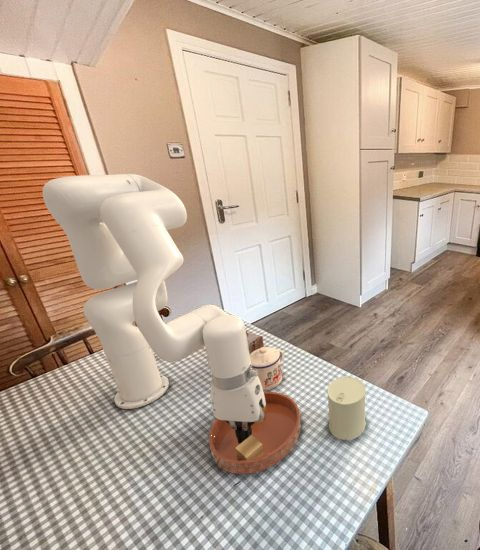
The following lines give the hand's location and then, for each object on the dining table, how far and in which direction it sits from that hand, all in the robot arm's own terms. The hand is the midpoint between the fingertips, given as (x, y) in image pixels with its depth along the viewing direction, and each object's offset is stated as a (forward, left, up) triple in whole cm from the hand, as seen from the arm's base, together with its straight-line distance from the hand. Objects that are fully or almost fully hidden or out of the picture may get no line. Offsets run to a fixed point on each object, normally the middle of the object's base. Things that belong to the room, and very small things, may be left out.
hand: (244, 438), depth 69 cm
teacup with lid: (-18, +14, -3) cm, 24 cm away
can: (+11, +21, -3) cm, 24 cm away
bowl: (-1, +3, -3) cm, 5 cm away
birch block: (+4, 0, -2) cm, 5 cm away
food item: (-34, +12, -3) cm, 37 cm away
